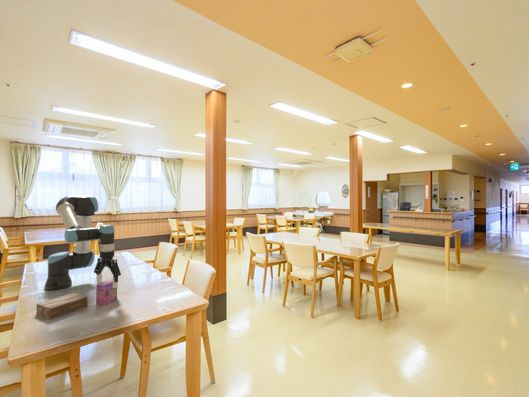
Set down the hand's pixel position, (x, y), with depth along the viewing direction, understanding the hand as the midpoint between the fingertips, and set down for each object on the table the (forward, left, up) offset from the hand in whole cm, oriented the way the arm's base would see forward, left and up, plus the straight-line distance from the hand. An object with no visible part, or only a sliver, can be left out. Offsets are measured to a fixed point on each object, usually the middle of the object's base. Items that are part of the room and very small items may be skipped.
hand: (107, 286), depth 158 cm
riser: (-11, -18, -10) cm, 23 cm away
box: (0, 0, -10) cm, 10 cm away
